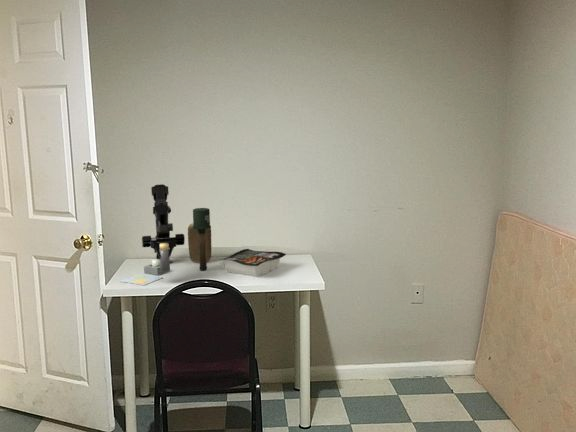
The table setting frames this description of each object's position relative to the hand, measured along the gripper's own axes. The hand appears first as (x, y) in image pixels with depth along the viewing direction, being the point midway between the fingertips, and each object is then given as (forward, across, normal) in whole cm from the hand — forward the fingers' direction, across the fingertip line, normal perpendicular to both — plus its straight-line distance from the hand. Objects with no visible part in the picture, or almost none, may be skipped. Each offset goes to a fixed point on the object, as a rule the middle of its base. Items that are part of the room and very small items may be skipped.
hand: (164, 256), depth 266 cm
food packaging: (+1, +42, +17) cm, 45 cm away
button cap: (-6, -3, +22) cm, 23 cm away
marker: (+4, 0, +6) cm, 7 cm away
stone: (-15, +19, +33) cm, 41 cm away
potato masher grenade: (-3, +19, +21) cm, 28 cm away
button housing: (-5, -4, +23) cm, 24 cm away
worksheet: (+3, -11, +15) cm, 18 cm away
